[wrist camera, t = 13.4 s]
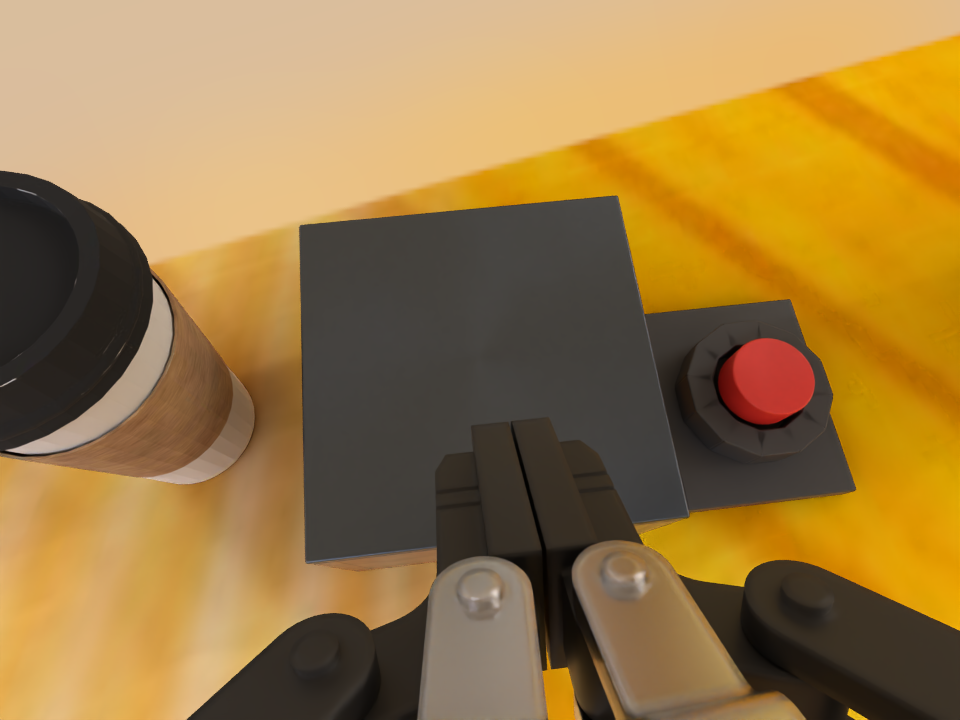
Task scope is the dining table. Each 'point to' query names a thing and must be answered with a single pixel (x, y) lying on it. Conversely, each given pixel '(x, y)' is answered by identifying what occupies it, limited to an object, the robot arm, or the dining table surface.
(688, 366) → the block
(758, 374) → the button
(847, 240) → the dining table surface
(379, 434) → the lid
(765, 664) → the robot arm
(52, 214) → the coffee cup
